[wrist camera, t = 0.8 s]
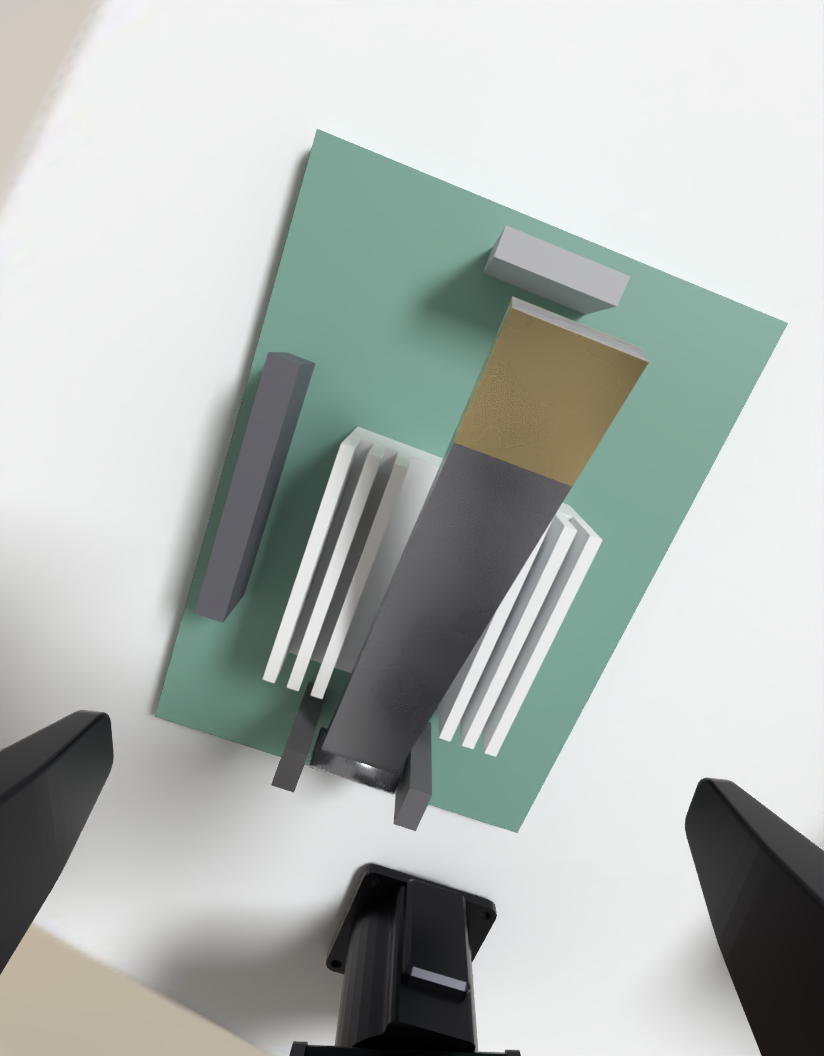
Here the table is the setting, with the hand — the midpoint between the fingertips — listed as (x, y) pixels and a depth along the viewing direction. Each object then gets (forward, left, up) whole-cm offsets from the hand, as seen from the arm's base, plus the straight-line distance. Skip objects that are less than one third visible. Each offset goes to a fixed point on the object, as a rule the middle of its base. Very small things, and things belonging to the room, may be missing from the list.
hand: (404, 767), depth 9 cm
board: (0, -1, -14) cm, 14 cm away
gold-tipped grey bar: (-1, -1, -8) cm, 8 cm away
